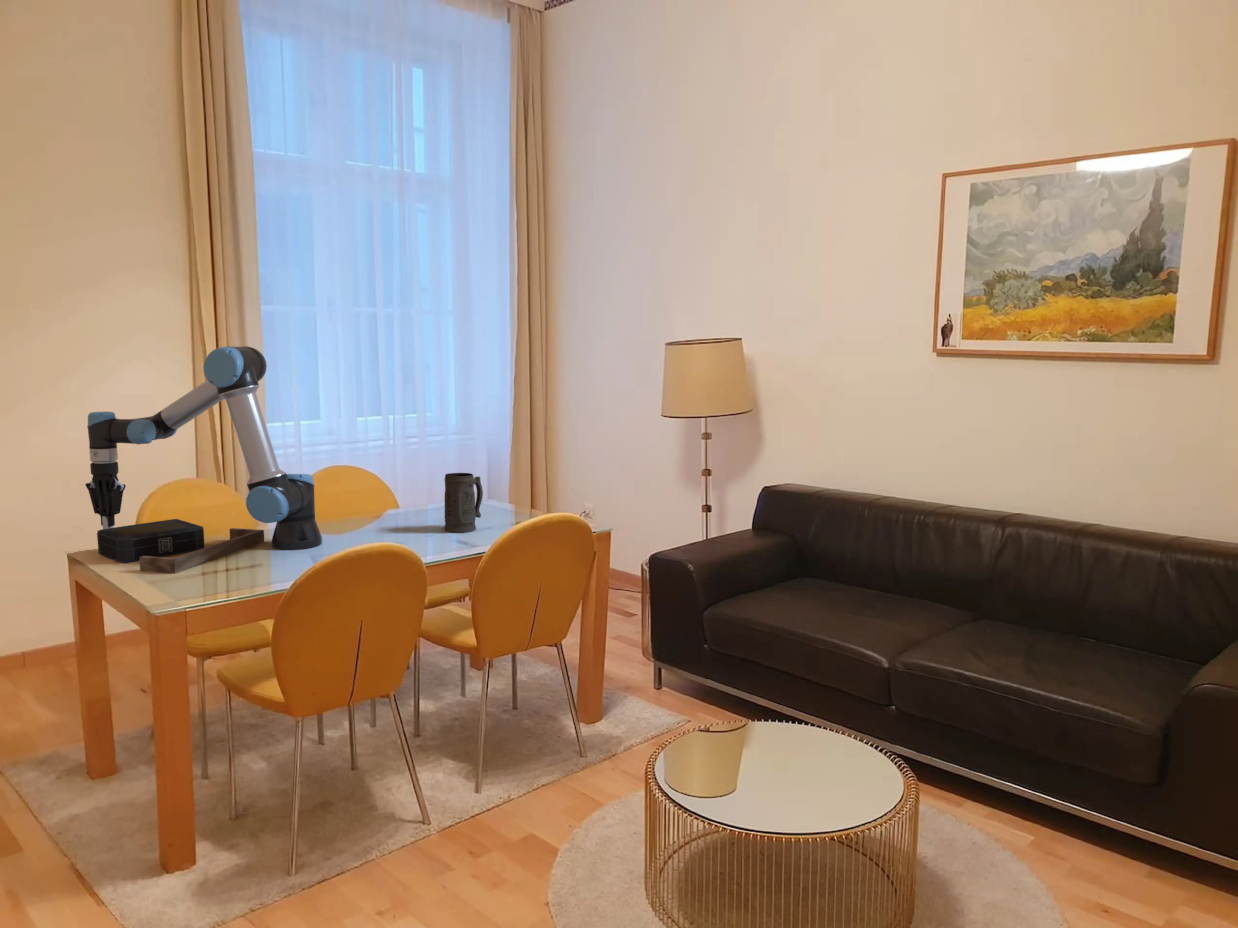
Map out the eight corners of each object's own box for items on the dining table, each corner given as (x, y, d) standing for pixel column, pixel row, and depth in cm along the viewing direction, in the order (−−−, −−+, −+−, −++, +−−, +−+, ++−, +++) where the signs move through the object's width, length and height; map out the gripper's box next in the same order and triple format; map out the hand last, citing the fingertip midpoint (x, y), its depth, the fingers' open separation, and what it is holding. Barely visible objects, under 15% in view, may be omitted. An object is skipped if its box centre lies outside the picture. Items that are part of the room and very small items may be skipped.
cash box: (123, 565, 267) (121, 539, 266) (96, 554, 281) (94, 529, 279) (208, 550, 286) (206, 526, 285) (179, 541, 299) (177, 517, 298)
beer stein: (460, 534, 310) (461, 476, 308) (436, 530, 315) (438, 473, 314) (489, 529, 323) (491, 473, 321) (466, 526, 328) (467, 470, 327)
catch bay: (264, 541, 297) (263, 529, 297) (175, 573, 258) (174, 559, 257) (233, 539, 300) (232, 527, 299) (140, 570, 260) (139, 557, 260)
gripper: (76, 462, 281) (81, 537, 284) (112, 464, 278) (117, 540, 281) (96, 459, 288) (100, 532, 291) (131, 461, 285) (135, 535, 288)
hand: (108, 536), depth 286 cm, fingers closed
